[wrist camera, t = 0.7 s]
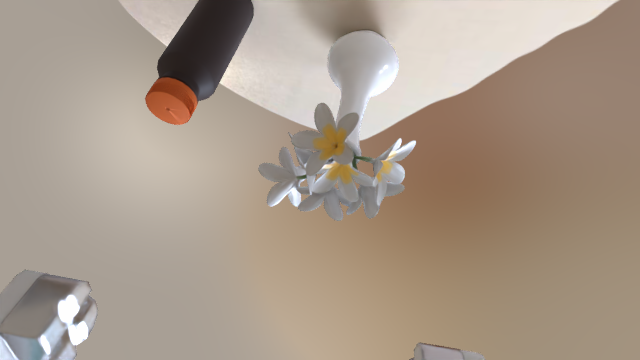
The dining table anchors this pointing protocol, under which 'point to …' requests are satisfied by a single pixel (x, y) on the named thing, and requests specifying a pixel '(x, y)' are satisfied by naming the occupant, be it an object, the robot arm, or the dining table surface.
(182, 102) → the vinegar
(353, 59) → the flower vase
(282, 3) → the dining table surface
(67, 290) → the robot arm
